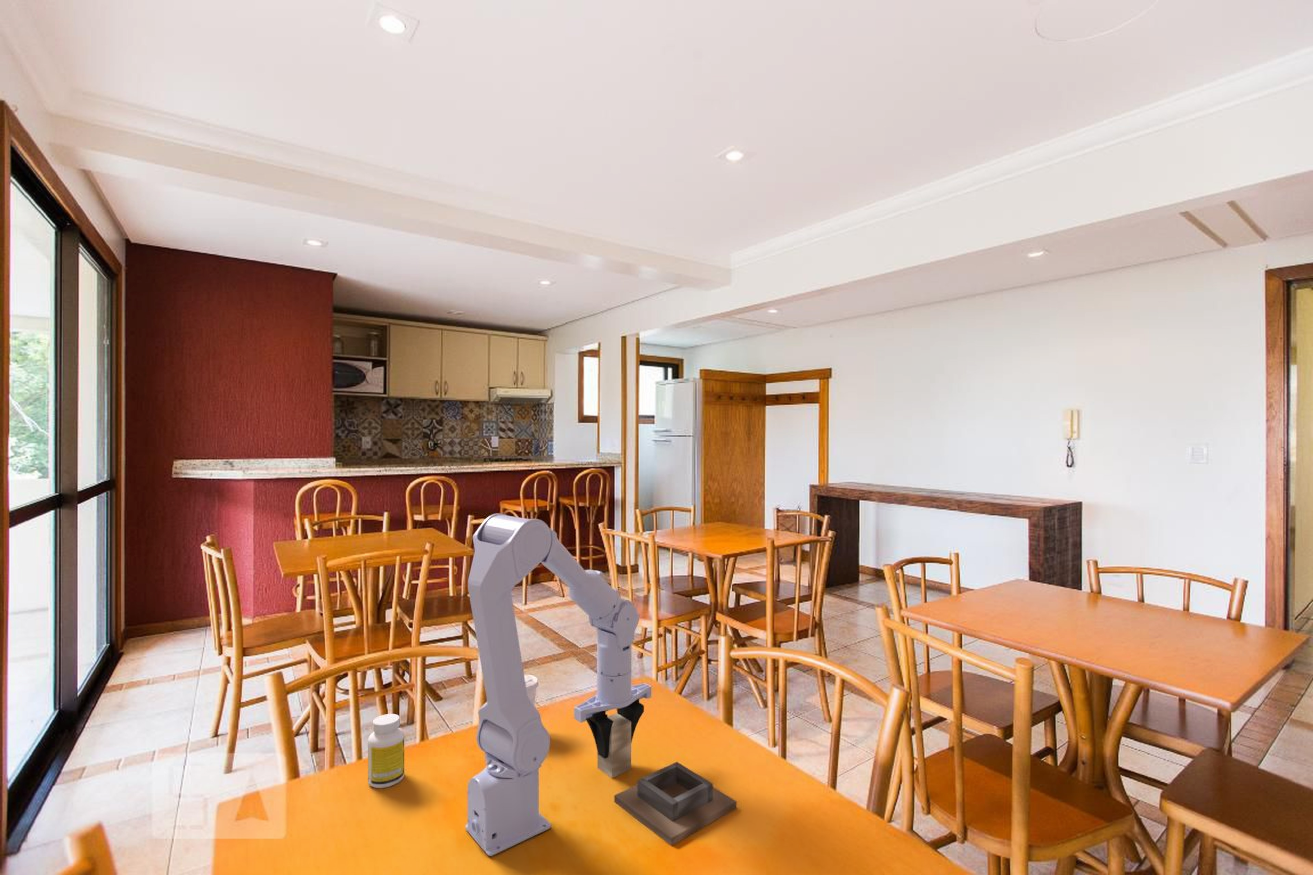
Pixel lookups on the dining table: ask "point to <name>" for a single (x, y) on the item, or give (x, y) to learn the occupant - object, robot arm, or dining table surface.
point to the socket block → (675, 802)
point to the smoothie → (531, 687)
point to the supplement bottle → (386, 752)
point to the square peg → (617, 748)
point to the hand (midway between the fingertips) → (614, 750)
